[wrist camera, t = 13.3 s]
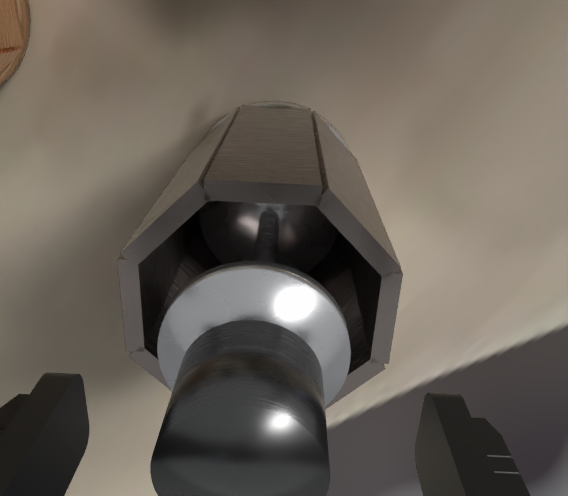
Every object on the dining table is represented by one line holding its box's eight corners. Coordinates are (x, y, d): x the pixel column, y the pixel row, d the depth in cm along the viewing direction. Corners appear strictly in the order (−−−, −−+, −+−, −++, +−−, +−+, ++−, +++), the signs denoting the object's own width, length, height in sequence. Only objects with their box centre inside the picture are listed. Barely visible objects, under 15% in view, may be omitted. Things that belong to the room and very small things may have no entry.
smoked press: (363, 105, 26) (420, 186, 14) (342, 301, 31) (372, 483, 19) (190, 96, 26) (105, 170, 14) (195, 293, 31) (134, 472, 19)
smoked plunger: (344, 149, 23) (418, 357, 9) (332, 276, 25) (375, 584, 12) (201, 142, 23) (66, 340, 9) (203, 270, 25) (100, 570, 12)
